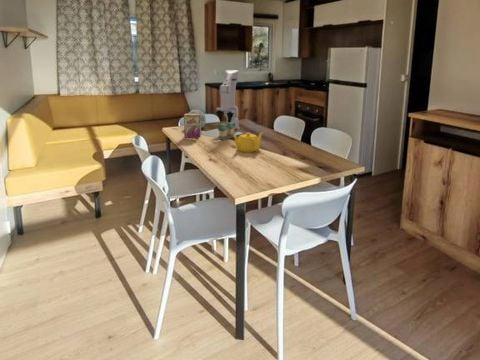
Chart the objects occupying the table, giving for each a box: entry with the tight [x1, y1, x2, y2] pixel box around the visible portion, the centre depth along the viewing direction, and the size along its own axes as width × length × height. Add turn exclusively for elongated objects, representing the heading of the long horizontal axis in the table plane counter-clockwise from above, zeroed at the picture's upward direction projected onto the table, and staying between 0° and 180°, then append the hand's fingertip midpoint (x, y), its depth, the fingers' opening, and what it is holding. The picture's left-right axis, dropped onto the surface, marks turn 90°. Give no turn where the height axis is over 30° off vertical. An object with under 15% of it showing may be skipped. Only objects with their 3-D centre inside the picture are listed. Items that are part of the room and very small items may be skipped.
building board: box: [201, 128, 245, 141], centre depth 281 cm, size 24×26×5 cm
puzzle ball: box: [187, 109, 207, 129], centre depth 298 cm, size 15×15×15 cm
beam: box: [217, 122, 235, 131], centre depth 275 cm, size 14×4×4 cm, turn 142°
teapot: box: [233, 132, 264, 153], centre depth 239 cm, size 22×16×11 cm
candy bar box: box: [183, 113, 202, 139], centre depth 271 cm, size 11×5×16 cm, turn 84°
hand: (225, 121), depth 277 cm, fingers open, 7 cm apart
